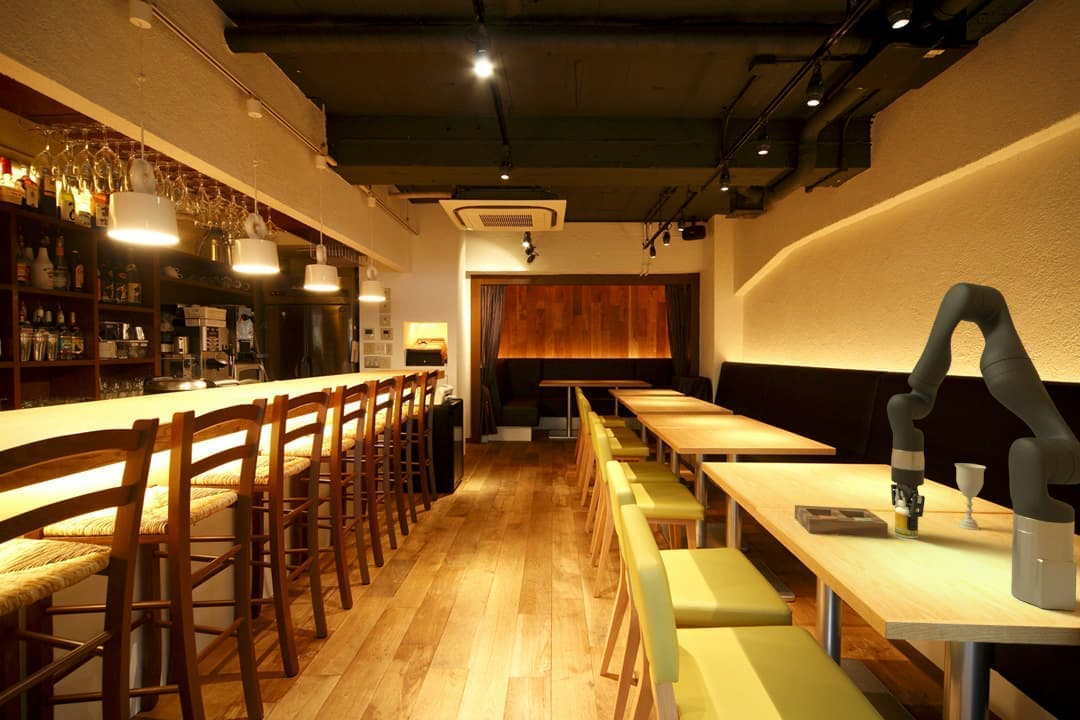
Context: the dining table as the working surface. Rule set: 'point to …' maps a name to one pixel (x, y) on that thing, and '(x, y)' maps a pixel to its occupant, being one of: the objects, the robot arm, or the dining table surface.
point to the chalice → (969, 489)
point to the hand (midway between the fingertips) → (906, 526)
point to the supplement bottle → (903, 522)
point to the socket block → (841, 521)
